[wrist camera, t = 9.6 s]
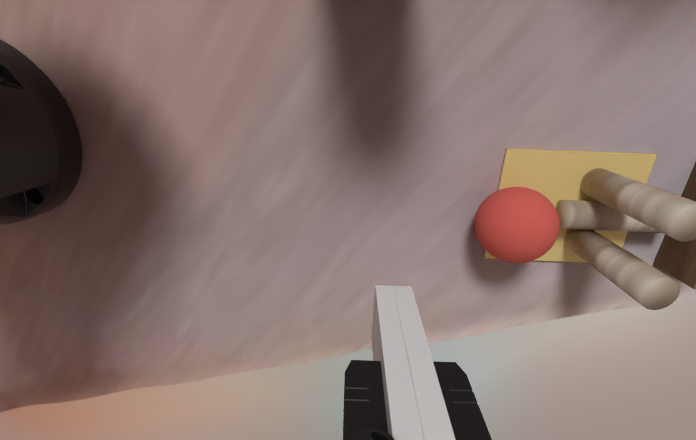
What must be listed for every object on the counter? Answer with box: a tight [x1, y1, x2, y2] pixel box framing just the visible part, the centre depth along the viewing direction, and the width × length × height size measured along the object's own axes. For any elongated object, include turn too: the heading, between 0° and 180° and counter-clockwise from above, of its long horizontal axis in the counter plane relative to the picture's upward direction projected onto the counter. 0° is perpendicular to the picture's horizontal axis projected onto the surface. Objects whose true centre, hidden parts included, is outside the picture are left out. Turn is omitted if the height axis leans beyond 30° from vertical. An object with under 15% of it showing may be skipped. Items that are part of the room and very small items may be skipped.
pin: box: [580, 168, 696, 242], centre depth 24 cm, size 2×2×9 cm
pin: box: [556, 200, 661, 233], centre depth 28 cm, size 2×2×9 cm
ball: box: [475, 187, 560, 263], centre depth 27 cm, size 6×6×6 cm
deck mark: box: [484, 148, 657, 263], centre depth 29 cm, size 12×10×1 cm
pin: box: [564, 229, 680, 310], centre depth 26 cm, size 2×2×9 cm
